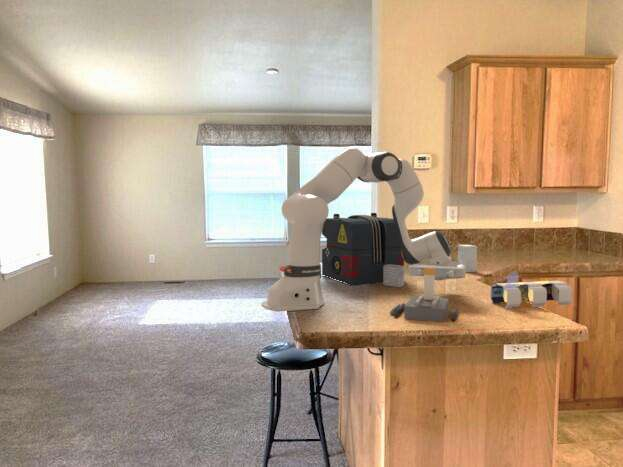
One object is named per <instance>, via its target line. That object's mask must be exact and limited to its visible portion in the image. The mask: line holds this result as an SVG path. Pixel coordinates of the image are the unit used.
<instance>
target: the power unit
mask: <svg viewBox="0 0 623 467" xmlns="http://www.w3.org/2000/svg"><path fill="white" fill-rule="evenodd" d="M321 236H323V237H324V238H326V247H324V248H323V249H321V276H322V275H325V276H328V277H331V278H333V279H336V280H339V281H342V282H345V283H347V284H346V285H348V284H350V285H349V286H351V285H355V286H363V284H365V285H372V284H373V285H374V284H382V283H383V266H384V265H388V264H390V265H400V266H404V267H405V261H404V259H403V257H402V253H401V246H400V242H399V239H398V235H397V231H396V227H395V224H394V219H393V217H392V218H390V217H378V214H377V212H371V213H370V215H369V214H353V215H350V216H348V217H341V216H340V214H339V213H334V214H333V217H332V218H331V217H330V218H329V217H327V219H326V220H325V222H324V225H323V229H322V234H321ZM333 279H332V280H333ZM336 280H335V281H336ZM339 281H338V282H339ZM342 282H341V283H342ZM345 283H344V284H345Z"/></svg>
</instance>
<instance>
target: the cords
mask: <svg viewBox="0 0 623 467" xmlns="http://www.w3.org/2000/svg"><path fill="white" fill-rule="evenodd" d="M406 304H407V303H405V302H403V303H400V302H397V303H396V304H395V305H394V307H393V308H392V309H390V311H389V314H390V315H393V316H394V317H395V318H397V317H398V316H399V315H400V314H401V312H402V311H404V309H405V305H406ZM458 312H459V308H458V307H454V308H453V311H452V313H451V315H450V320H451V321H455V320H456V319H457V315H458Z"/></svg>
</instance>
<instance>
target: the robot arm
mask: <svg viewBox="0 0 623 467" xmlns="http://www.w3.org/2000/svg"><path fill="white" fill-rule="evenodd" d="M356 179H358V180H359V181H362V183H376V184H377V183H381V182H386V183H387V184H388V186H389V187H390V190H391V191H392V194H393V197H394V203H393V206H392V207H391V214H392V219H394V224H395V227H396V231H397V235H398V239H399V242H400V246H401V253H402V257H403V259H404V263H406V264H408V269H407V270H408V276H413V277H414V276H416V277H424V268H425V267H431V268H435V281H444V280H450V279H453V280H454V279H458V280H459V279H465V278H466V272H465V266H464V264H463V262H462V261H458V259H457V260H456V259H452V257H451V254H452V247H451V245H450V243H449V240H448V238H447V236H446V235H445V234H444V233H443V232H440V231H439V230H434V231H431V232H428V233H426V234H423V235H420V236H418V237H415V238H410V235H409V232H408V228H407V224H406V220H407V217H408V216H409V215H410V214H411V213H412V212H413V211H415V210H416V209H417V208H418V207H419V206H420V205H421V203H422V201H423V199H424V197H425V196H424V194H425V192H424V188H423V185H422V183H421V181H420V179H419V177H418V174H417V173H416V171H415V169H414V168H413V166H412V165H411V164H410V161H408V160H407V159H405V158H398V156H396V155H395V154H394V153H393V152H389V151H380V152H371V153H367V154H364V153H363V152H362V150H360V149H359V148H357V147H347V148H346V149H344V150H342V152H340V153H339V154H337V155H336V156H335V157H334V158H332V160H330V161H329V163H328V164H326V166H325V167H324V168H322V169H321V170H320V172H318V173H317V174H316V175H315V176H314V177H313V178H312V179H310V180H309V181H308V182H306V183H305V184H304V185H302V187H299V189H298V190H296V191H295V192H294V193H293V194H292V195H290V196H288V197H287V198H286V199H284V201H283V203H282V204H281V214H282V216H283V217H284V219H285V220H286V221H287V222H289V223H290V224H293V228H292V232H291V236H290V239H289V241H288V264H287V265H286V266H284V265H280V266H279V267H278V270H279V272H282V273H283V276H281V277H280V279H279V280H277V281H276V282H275V283H273V285H271V286H270V287H269V289H268V293H267V300H263V301H261V307H262V308H264V309H265V310H268V311H272V312H290V311H291V312H292V311H304V310H315V309H320V307H321V306H323V305H324V304H325V301H324V296H323V292H322V285H321V279H322V263H320V262H321V261H320V260H321V256H320V254H321V252H320V251H321V250H320V249H321V238H322V229H323V225H324V222H325V220H326V219H327V218H329V212H330V210H329V206H328V205H329V204H330V203H332V202H334V201H336V200H337V199H338V198H339V197H340V196H341V195H342V194H343V193H344V192H345V191H346V190H347V189H348V188H349V187H350V185H351V184H353V183H354V181H355V180H356ZM428 260H429V261H428ZM425 261H428V262H427V263H422V262H425Z"/></svg>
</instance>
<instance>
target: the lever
mask: <svg viewBox="0 0 623 467" xmlns="http://www.w3.org/2000/svg"><path fill="white" fill-rule="evenodd" d="M435 281H436V280H435V268H431V267H425V268H424V276H423V295H424V300H433V299H434V297H435Z"/></svg>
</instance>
